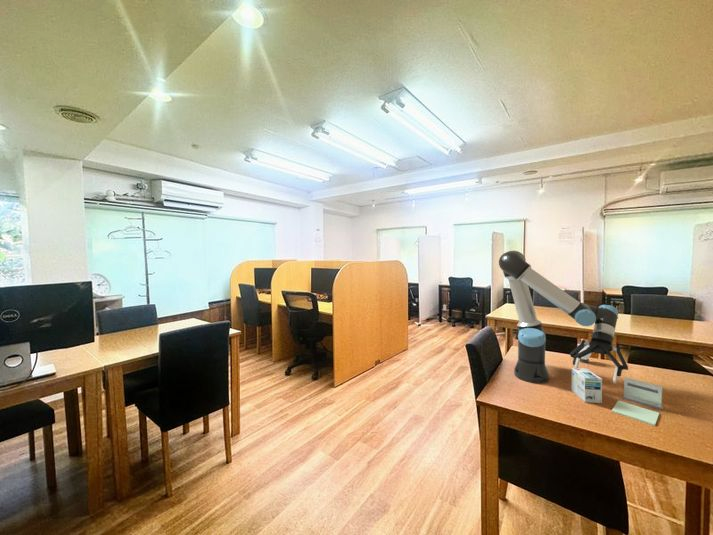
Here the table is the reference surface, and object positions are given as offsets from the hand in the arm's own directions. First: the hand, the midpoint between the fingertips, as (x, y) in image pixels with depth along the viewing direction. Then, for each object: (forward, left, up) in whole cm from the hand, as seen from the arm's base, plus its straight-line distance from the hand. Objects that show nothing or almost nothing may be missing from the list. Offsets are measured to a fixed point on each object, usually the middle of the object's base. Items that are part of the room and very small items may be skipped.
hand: (593, 376), depth 126 cm
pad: (+14, -5, -8) cm, 17 cm away
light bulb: (-13, +39, -8) cm, 42 cm away
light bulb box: (-2, -4, -8) cm, 10 cm away
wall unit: (+15, +6, -8) cm, 18 cm away
